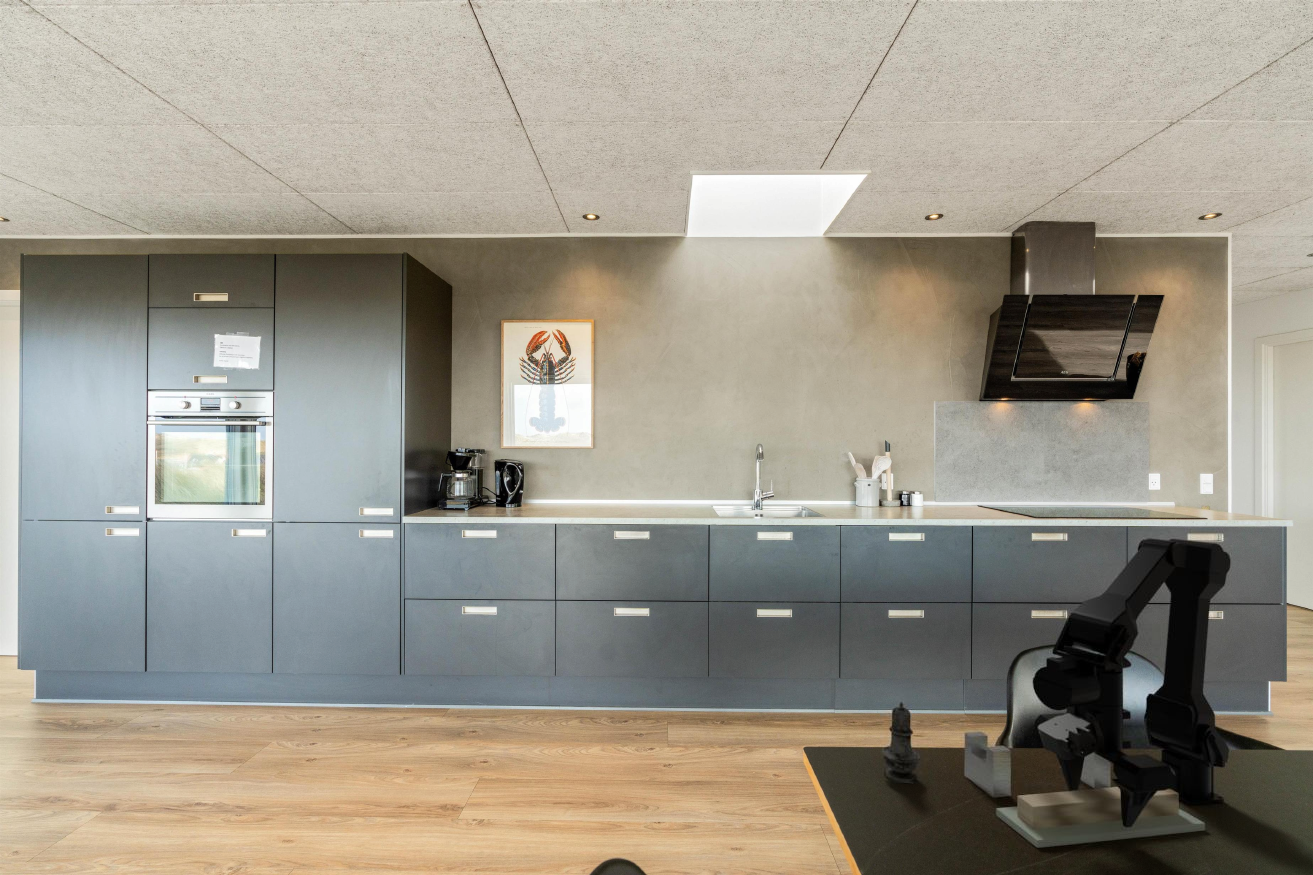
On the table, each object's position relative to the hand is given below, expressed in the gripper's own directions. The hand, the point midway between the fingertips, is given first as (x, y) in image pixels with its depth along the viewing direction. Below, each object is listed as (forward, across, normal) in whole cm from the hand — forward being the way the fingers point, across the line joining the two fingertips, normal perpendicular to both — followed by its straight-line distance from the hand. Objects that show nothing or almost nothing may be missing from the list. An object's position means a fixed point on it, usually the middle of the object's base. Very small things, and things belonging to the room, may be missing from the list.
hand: (1099, 808), depth 94 cm
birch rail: (+1, 0, 0) cm, 1 cm away
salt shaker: (+2, -17, -21) cm, 27 cm away
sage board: (+2, 0, 0) cm, 2 cm away
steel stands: (+2, -12, 0) cm, 12 cm away
